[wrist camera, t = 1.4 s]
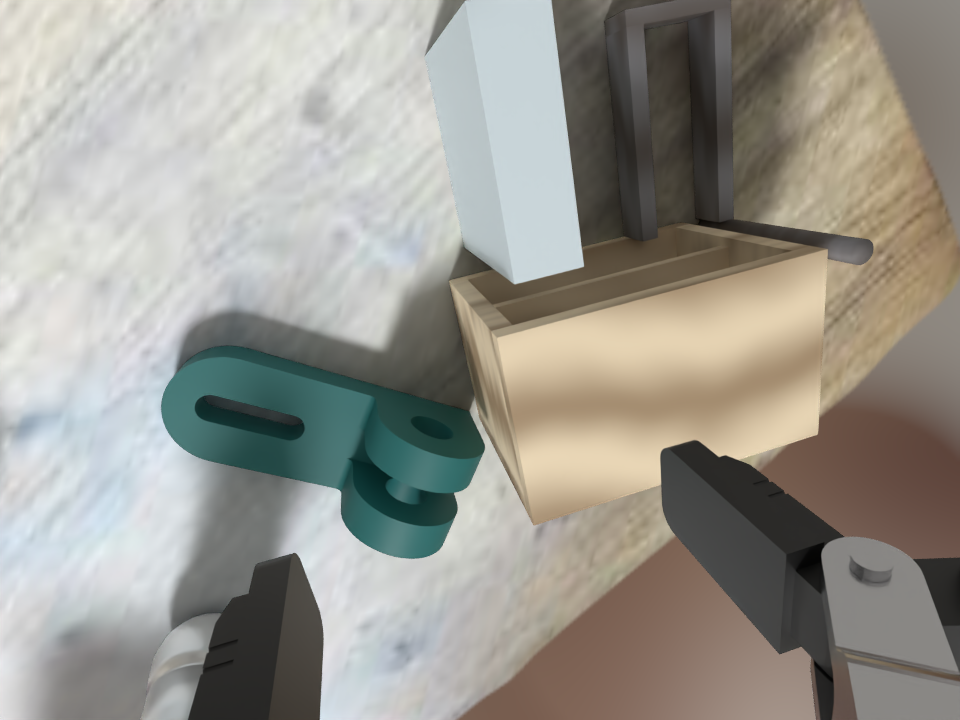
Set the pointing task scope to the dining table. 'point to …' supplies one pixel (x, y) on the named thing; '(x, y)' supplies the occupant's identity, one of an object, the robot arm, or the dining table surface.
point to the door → (507, 137)
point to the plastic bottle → (178, 669)
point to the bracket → (332, 441)
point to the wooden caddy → (653, 311)
